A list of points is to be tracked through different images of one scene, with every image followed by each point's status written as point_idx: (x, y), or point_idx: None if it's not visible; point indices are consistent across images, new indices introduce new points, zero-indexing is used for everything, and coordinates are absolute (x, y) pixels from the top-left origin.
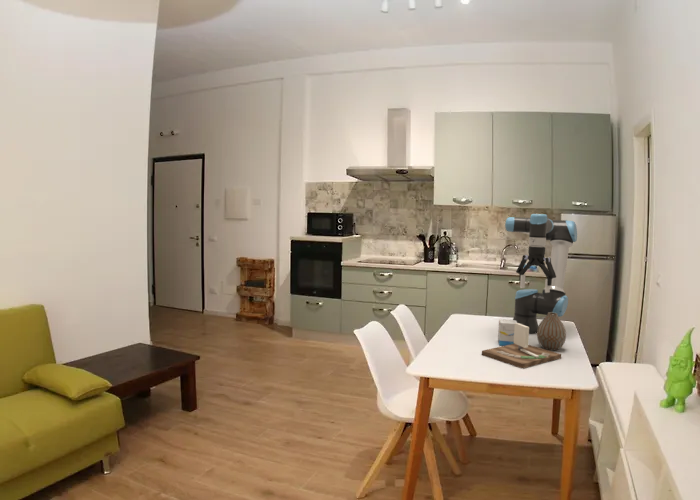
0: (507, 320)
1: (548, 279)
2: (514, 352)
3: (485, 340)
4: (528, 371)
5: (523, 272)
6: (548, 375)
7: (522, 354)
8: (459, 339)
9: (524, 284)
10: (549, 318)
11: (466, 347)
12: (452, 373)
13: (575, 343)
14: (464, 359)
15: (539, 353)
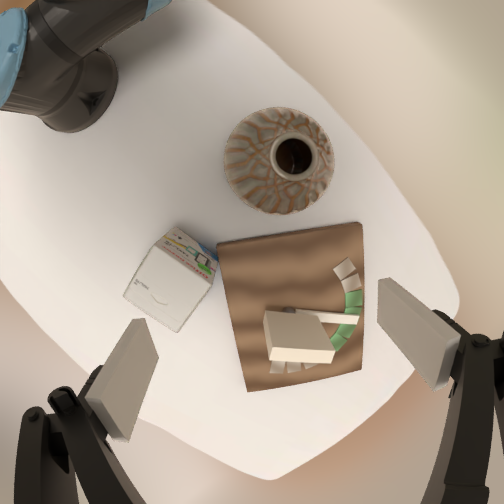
0: (149, 284)
1: (452, 369)
2: None
3: None
4: (373, 362)
5: (110, 452)
6: None
7: None
8: None
9: (137, 340)
10: (298, 187)
11: (181, 379)
12: (308, 455)
13: (258, 42)
14: (259, 422)
15: (331, 280)
